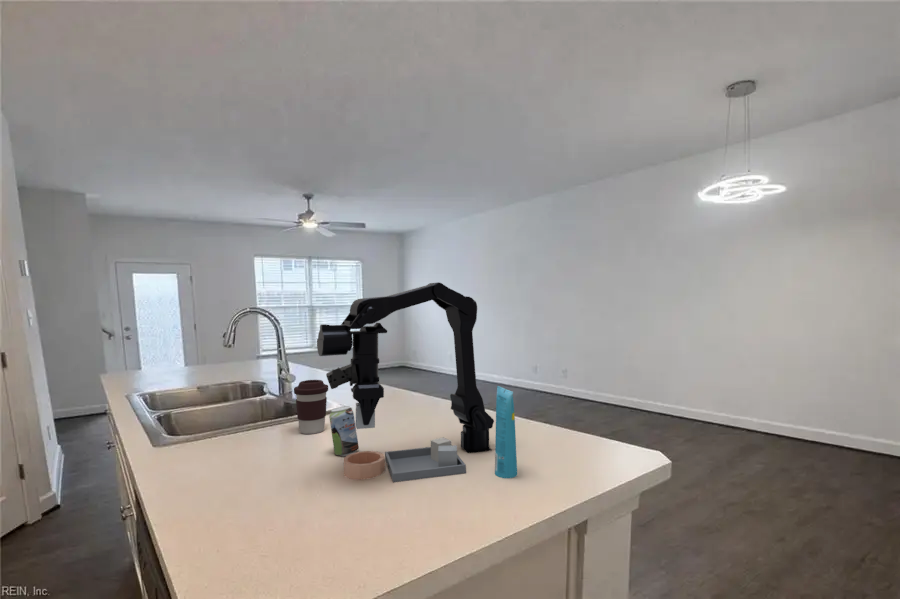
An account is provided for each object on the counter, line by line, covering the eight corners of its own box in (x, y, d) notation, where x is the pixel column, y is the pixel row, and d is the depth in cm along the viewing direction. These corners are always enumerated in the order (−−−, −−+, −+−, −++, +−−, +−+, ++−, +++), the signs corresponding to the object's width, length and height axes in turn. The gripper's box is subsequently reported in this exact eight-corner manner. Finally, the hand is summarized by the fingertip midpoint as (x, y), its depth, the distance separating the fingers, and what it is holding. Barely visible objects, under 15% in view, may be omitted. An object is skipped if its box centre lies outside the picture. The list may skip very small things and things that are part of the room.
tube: (524, 479, 94) (523, 390, 94) (505, 484, 92) (504, 392, 92) (505, 468, 101) (504, 384, 101) (487, 472, 99) (486, 386, 99)
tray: (449, 453, 111) (449, 444, 111) (466, 475, 97) (465, 464, 97) (385, 461, 107) (385, 451, 107) (393, 484, 93) (392, 473, 93)
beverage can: (352, 459, 108) (351, 411, 108) (325, 458, 110) (324, 410, 110) (362, 451, 114) (362, 405, 114) (336, 449, 116) (335, 404, 116)
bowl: (382, 463, 105) (381, 449, 105) (386, 478, 96) (386, 462, 96) (343, 468, 103) (343, 453, 103) (344, 483, 94) (344, 467, 94)
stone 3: (457, 465, 102) (456, 445, 102) (457, 471, 98) (457, 450, 98) (439, 465, 102) (438, 445, 102) (438, 471, 98) (438, 451, 98)
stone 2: (443, 455, 109) (443, 437, 109) (451, 458, 106) (451, 440, 106) (430, 458, 107) (430, 440, 107) (438, 462, 104) (438, 443, 104)
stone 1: (373, 423, 102) (373, 401, 102) (374, 427, 98) (374, 405, 98) (355, 424, 101) (355, 402, 101) (356, 429, 97) (356, 406, 97)
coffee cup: (310, 438, 126) (309, 385, 126) (287, 433, 131) (286, 382, 131) (335, 429, 135) (335, 380, 135) (313, 424, 140) (313, 377, 140)
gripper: (328, 350, 106) (328, 415, 106) (328, 359, 88) (328, 437, 88) (374, 349, 109) (374, 412, 109) (384, 358, 91) (384, 433, 91)
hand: (365, 422), depth 99 cm, fingers closed on stone 1, 4 cm apart
